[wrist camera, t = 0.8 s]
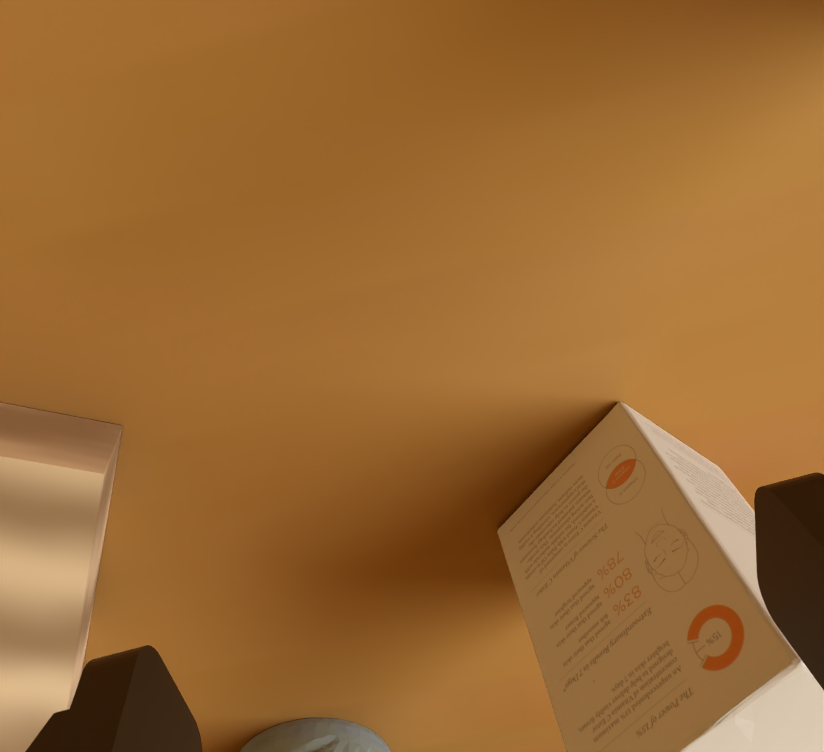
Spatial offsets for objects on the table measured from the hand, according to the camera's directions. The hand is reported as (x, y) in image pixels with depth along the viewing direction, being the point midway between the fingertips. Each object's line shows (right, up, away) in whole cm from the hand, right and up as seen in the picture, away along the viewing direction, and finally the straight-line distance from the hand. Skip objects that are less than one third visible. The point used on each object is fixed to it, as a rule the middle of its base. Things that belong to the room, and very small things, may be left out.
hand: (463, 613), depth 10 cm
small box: (+8, -2, +23) cm, 25 cm away
